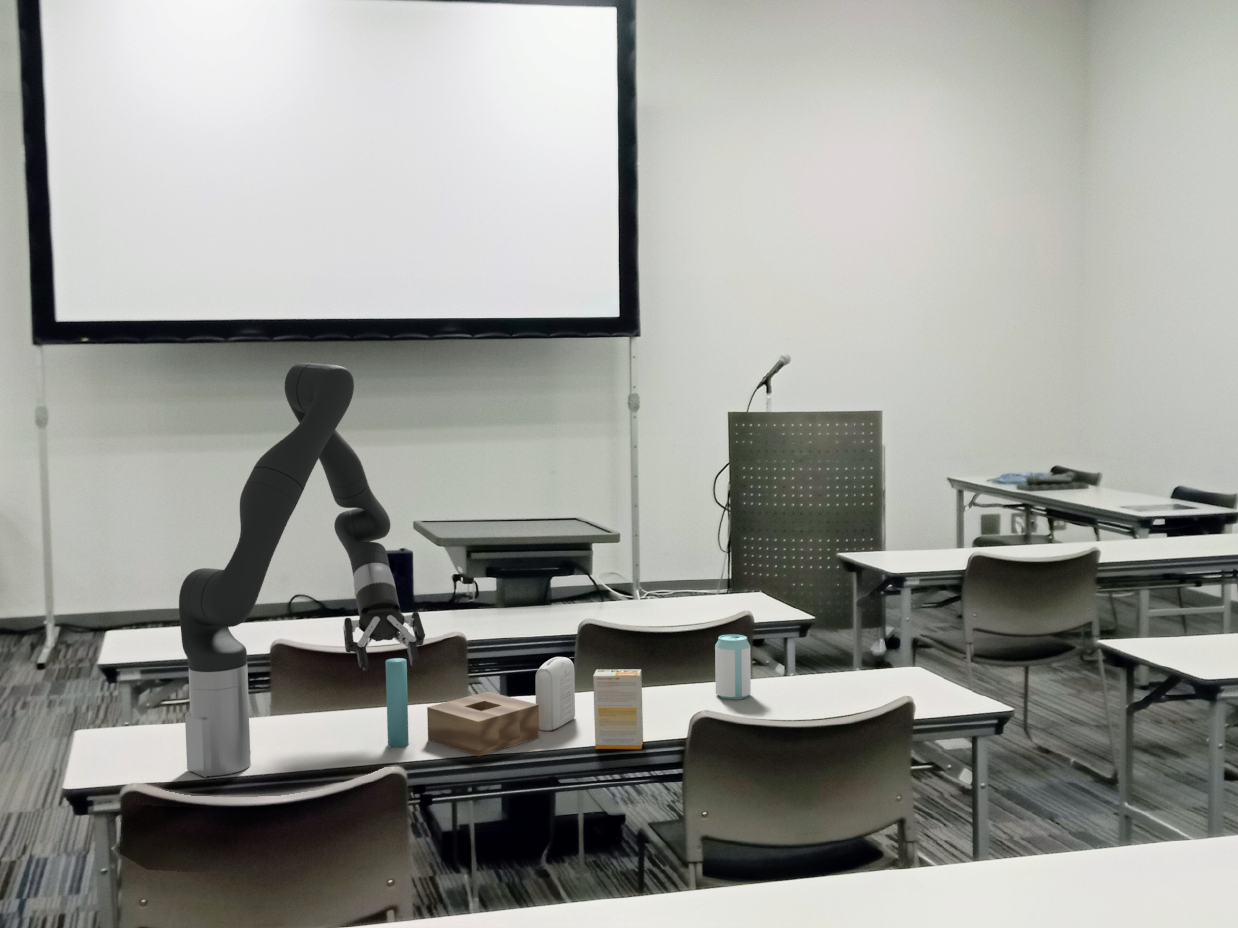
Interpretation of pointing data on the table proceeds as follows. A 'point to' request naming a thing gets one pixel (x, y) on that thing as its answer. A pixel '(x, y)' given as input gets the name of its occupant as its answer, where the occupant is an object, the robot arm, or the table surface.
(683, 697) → the table surface
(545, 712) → the photo printer
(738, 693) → the can
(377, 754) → the table surface
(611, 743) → the supplement box
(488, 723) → the socket block
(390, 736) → the pin
